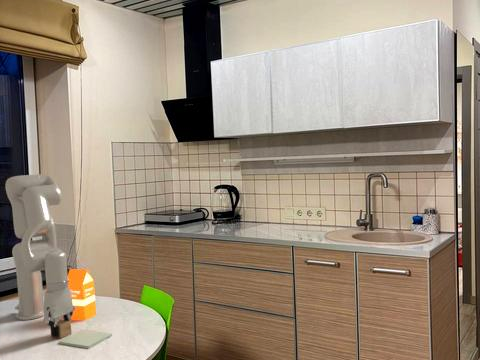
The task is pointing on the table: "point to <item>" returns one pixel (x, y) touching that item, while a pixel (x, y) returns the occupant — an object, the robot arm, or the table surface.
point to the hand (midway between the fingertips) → (61, 333)
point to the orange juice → (82, 294)
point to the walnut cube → (63, 329)
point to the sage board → (85, 338)
